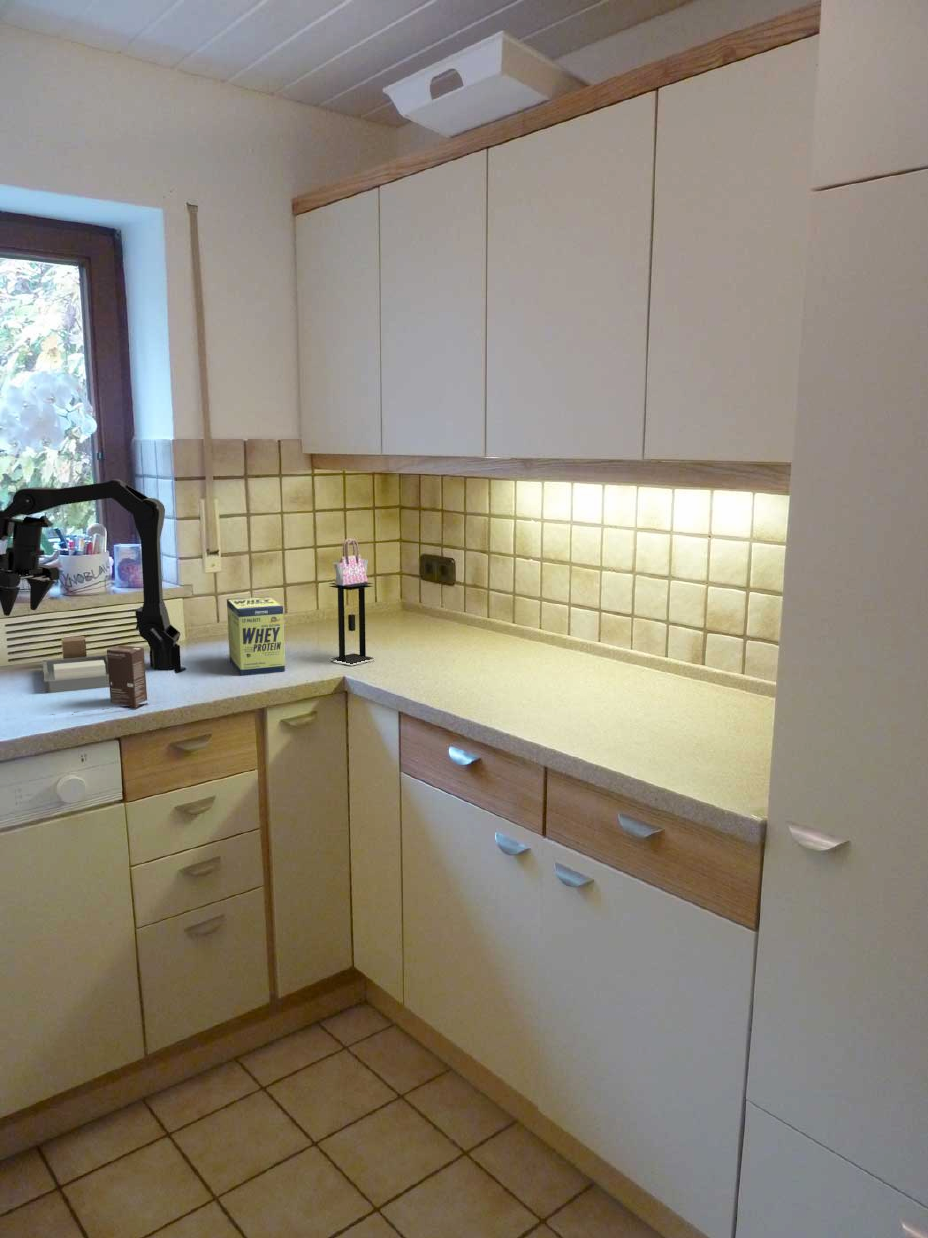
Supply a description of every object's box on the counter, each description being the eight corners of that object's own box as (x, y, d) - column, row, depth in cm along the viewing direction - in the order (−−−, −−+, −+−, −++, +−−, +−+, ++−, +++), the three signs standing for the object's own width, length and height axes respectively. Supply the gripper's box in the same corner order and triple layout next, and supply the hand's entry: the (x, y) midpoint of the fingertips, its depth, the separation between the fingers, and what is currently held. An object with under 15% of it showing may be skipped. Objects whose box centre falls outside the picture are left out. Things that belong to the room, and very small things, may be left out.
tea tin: (87, 669, 216) (85, 640, 215) (64, 671, 214) (62, 641, 213) (86, 664, 220) (84, 635, 219) (63, 666, 218) (61, 637, 217)
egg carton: (106, 685, 198) (105, 664, 197) (55, 690, 194) (54, 669, 193) (104, 679, 203) (103, 659, 202) (55, 684, 199) (53, 664, 198)
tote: (117, 690, 198) (116, 674, 197) (46, 698, 192) (44, 681, 191) (109, 669, 216) (108, 654, 215) (43, 675, 210) (42, 660, 209)
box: (109, 707, 186) (105, 649, 183) (124, 701, 190) (120, 644, 188) (135, 710, 184) (131, 651, 182) (149, 704, 188) (145, 646, 186)
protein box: (241, 676, 210) (238, 609, 207) (228, 661, 224) (225, 598, 221) (286, 672, 215) (284, 606, 212) (271, 657, 229) (269, 595, 226)
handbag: (357, 655, 231) (355, 535, 225) (378, 660, 226) (376, 537, 220) (325, 662, 223) (322, 538, 218) (346, 667, 219) (343, 541, 213)
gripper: (20, 535, 215) (14, 600, 218) (-36, 540, 197) (-42, 611, 200) (64, 544, 214) (57, 609, 216) (11, 549, 195) (5, 621, 198)
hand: (20, 612), depth 208 cm, fingers open, 9 cm apart
